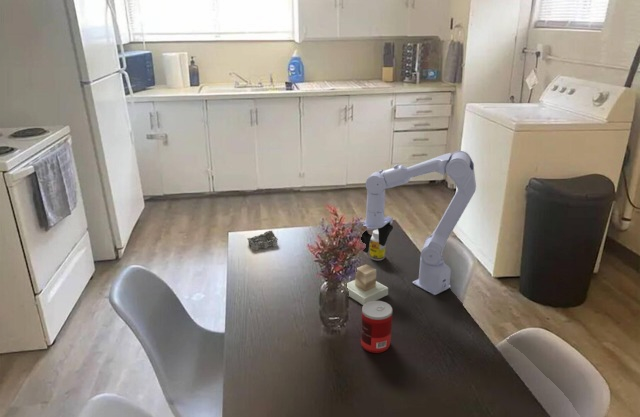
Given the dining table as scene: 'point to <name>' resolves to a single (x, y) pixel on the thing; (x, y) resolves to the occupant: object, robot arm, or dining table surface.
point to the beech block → (365, 277)
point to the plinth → (366, 292)
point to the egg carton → (262, 240)
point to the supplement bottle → (376, 247)
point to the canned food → (376, 326)
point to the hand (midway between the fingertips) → (373, 248)
